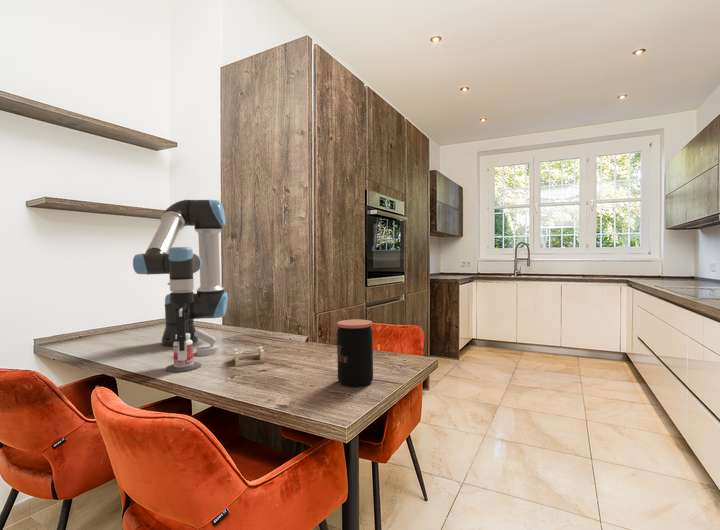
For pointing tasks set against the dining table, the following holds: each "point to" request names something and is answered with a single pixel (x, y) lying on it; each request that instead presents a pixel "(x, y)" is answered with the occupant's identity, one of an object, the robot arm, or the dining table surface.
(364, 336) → the coffee jar
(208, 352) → the wall hook
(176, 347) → the pill bottle
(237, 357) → the cradle
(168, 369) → the coaster
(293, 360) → the dining table surface
